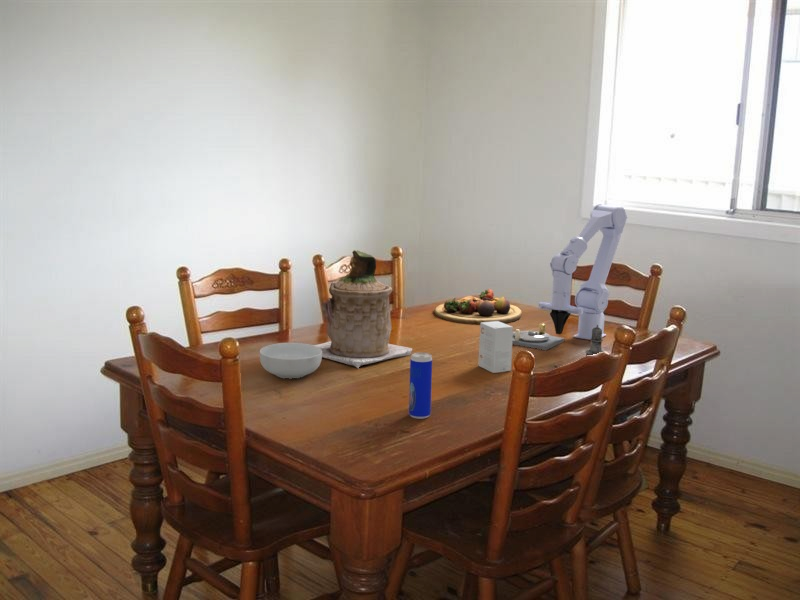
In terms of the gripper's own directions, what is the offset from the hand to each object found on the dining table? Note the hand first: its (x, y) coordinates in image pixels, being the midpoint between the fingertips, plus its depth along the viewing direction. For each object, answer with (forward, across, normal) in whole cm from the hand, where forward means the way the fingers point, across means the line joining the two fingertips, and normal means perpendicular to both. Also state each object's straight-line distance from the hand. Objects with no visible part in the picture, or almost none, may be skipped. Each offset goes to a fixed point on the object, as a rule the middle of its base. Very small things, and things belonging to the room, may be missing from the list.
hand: (558, 333), depth 273 cm
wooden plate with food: (+4, -41, +20) cm, 46 cm away
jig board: (+3, -7, -4) cm, 9 cm away
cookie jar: (+4, -42, -51) cm, 66 cm away
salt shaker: (+3, +19, -16) cm, 25 cm away
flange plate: (+2, -8, -4) cm, 9 cm away
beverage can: (+3, +2, -86) cm, 86 cm away
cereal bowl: (+3, -44, -80) cm, 91 cm away
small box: (+3, -2, -39) cm, 39 cm away
